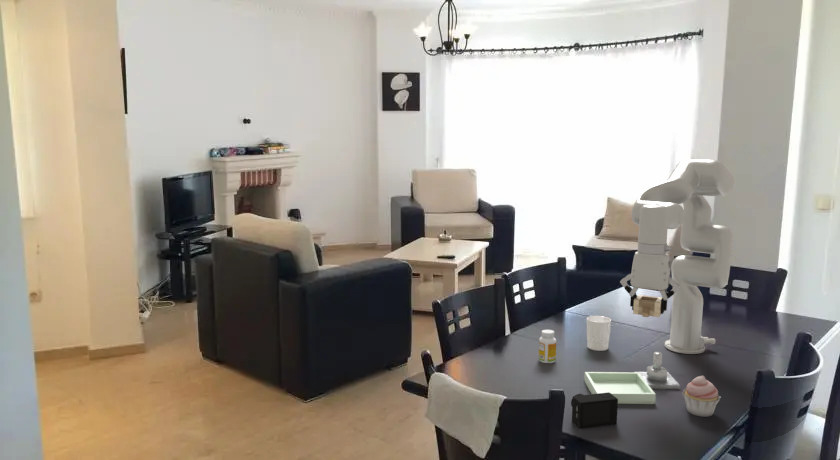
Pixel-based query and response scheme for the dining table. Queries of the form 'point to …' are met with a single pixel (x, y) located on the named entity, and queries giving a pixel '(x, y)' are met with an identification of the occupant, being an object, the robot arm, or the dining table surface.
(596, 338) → the white cup
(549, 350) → the supplement bottle
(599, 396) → the digital camera
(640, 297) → the wooden square frame
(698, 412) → the cupcake
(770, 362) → the dining table surface
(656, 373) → the grey stand
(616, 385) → the tray
